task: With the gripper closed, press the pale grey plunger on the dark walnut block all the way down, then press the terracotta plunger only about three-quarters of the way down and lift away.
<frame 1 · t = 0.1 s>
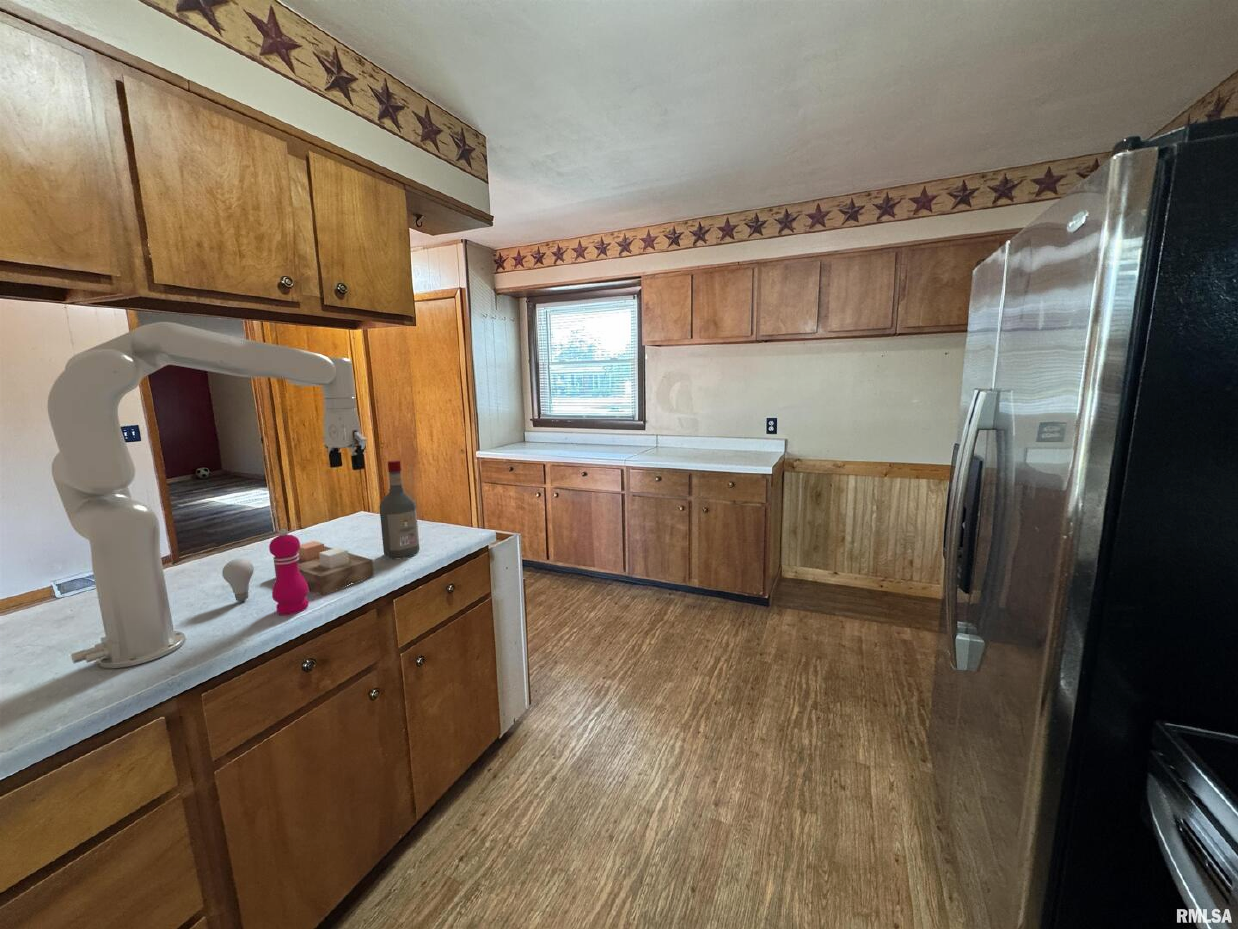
hand: (347, 468, 131), 31 cm above the countertop, tool pointing down, fingers open, 9 cm apart
pepper mill: (293, 610, 116), on the countertop
terracotta plunger: (311, 553, 138), point 6 cm above the countertop, slide at 0.0 cm
grey plunger: (334, 560, 132), point 6 cm above the countertop, slide at 0.0 cm
liquor: (402, 554, 154), on the countertop
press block: (324, 577, 136), on the countertop
lightbulb: (242, 602, 121), on the countertop
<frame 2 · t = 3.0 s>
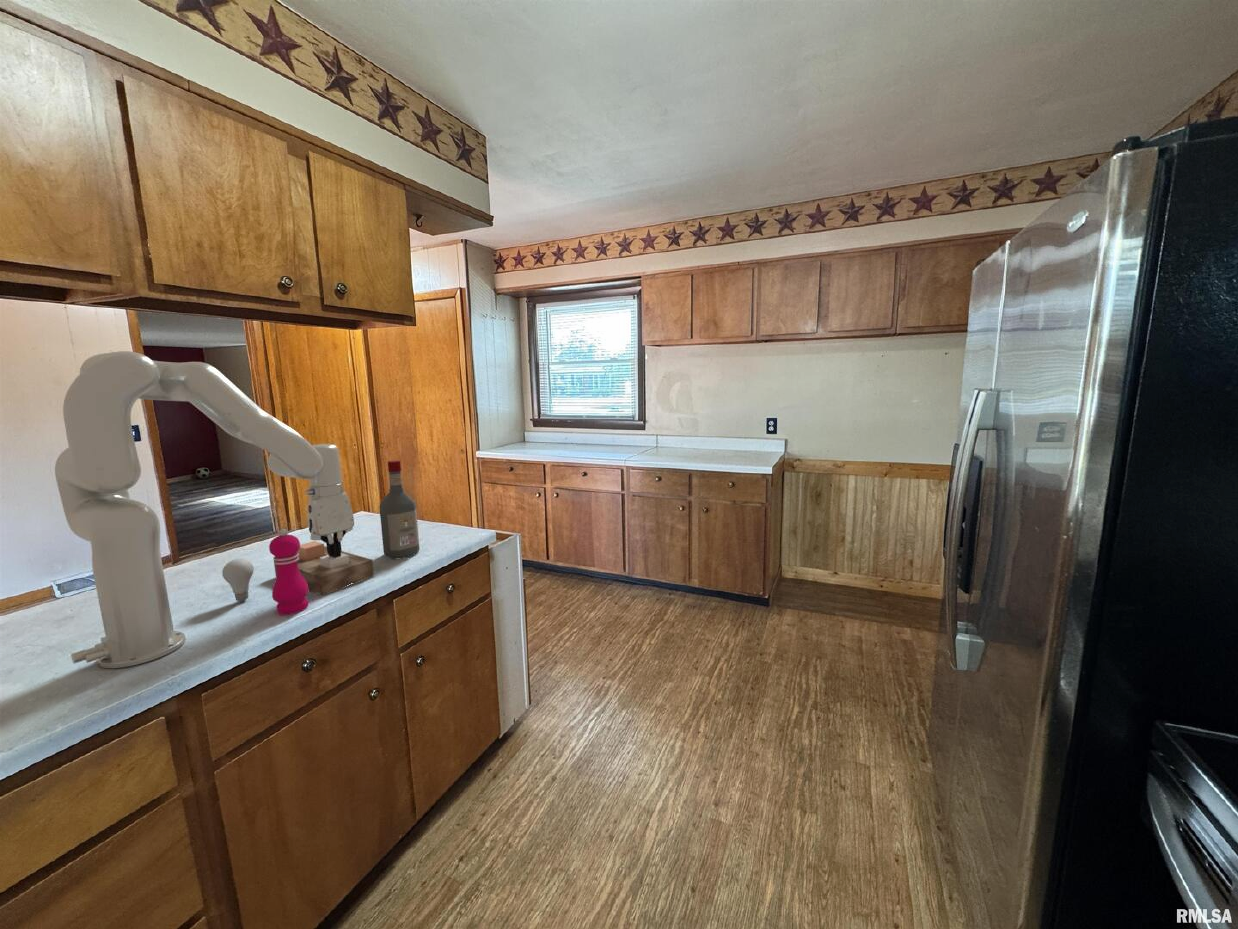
hand: (335, 555, 132), 7 cm above the countertop, tool pointing down, fingers closed
grey plunger: (335, 565, 132), point 5 cm above the countertop, slide at 1.4 cm, touching gripper
everything else where it was.
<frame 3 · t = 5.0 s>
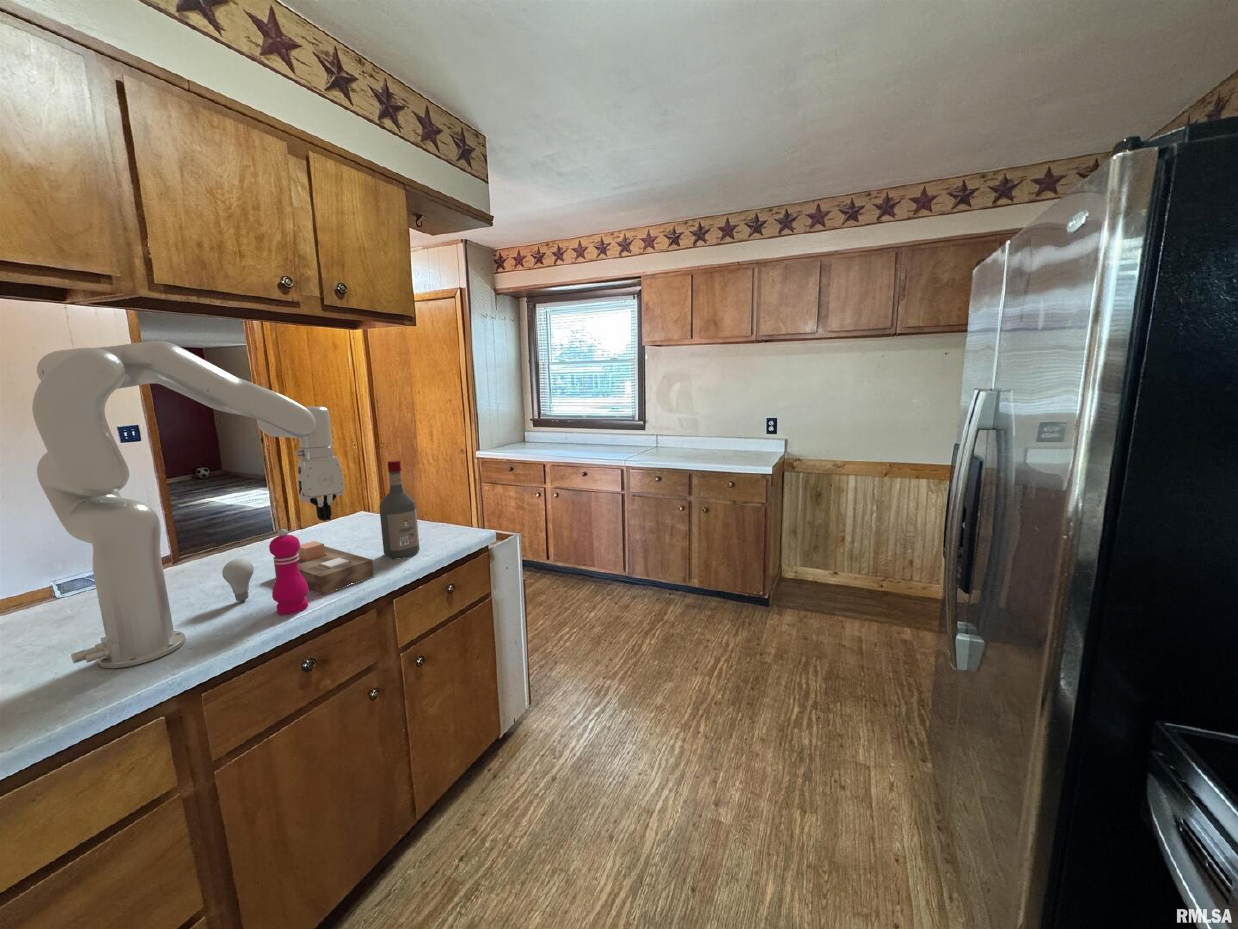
hand: (324, 519, 131), 17 cm above the countertop, tool pointing down, fingers closed
grey plunger: (335, 570, 132), point 3 cm above the countertop, slide at 3.0 cm
everything else where it was.
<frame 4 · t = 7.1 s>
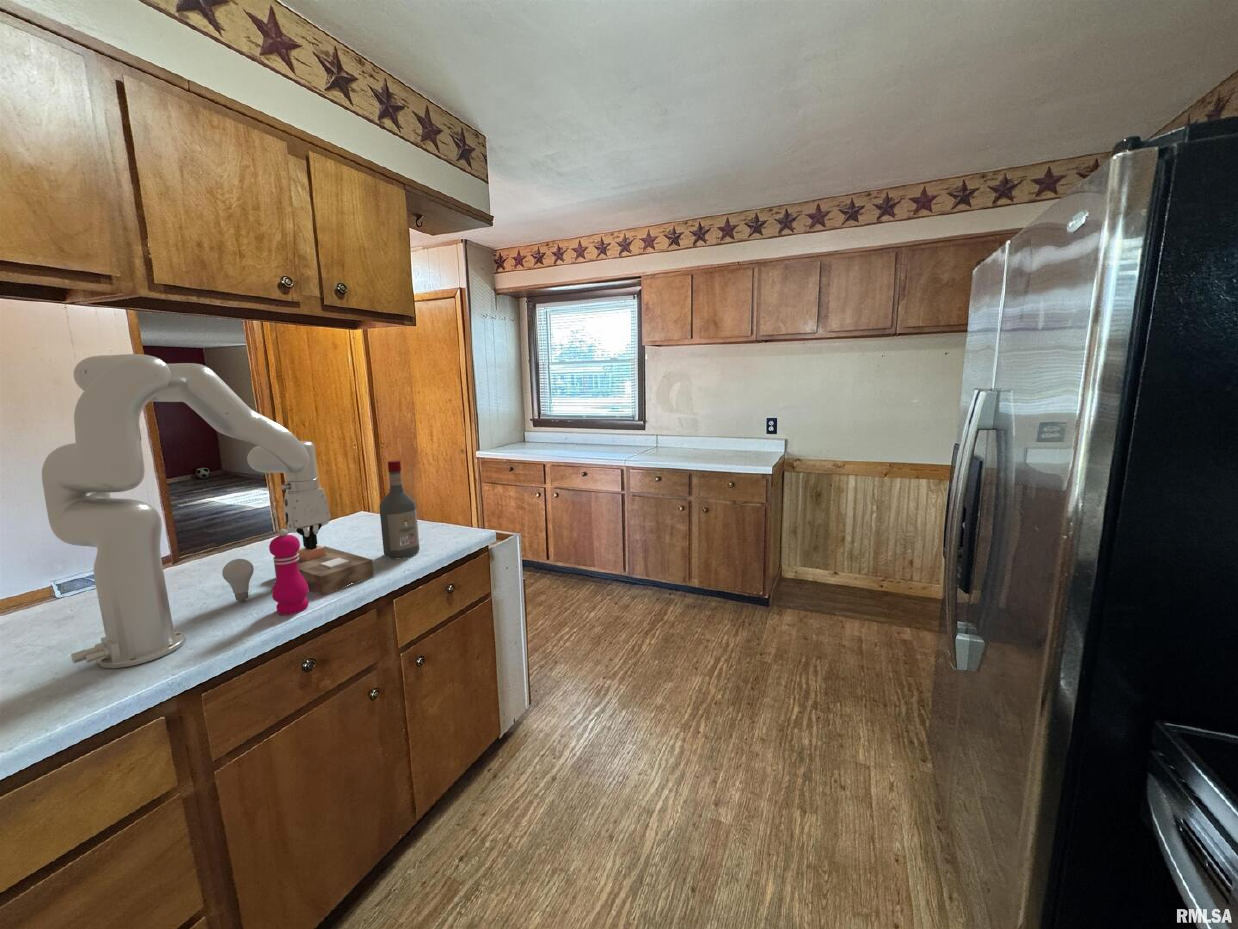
hand: (311, 548, 138), 7 cm above the countertop, tool pointing down, fingers closed
terracotta plunger: (311, 556, 138), point 5 cm above the countertop, slide at 1.1 cm, touching gripper
everything else where it was.
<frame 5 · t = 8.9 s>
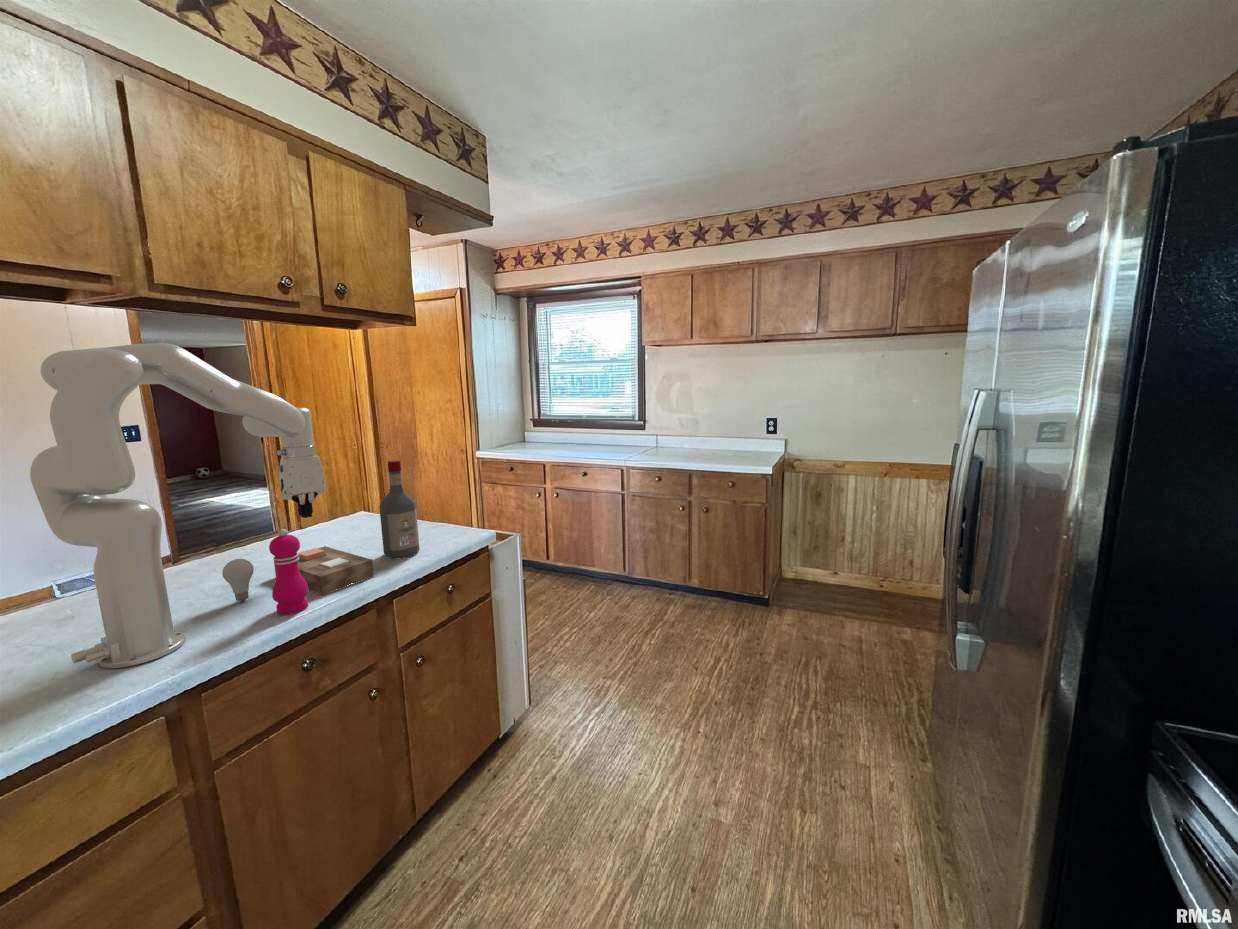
hand: (306, 516, 136), 17 cm above the countertop, tool pointing down, fingers closed
terracotta plunger: (311, 560, 138), point 4 cm above the countertop, slide at 2.1 cm
everything else where it was.
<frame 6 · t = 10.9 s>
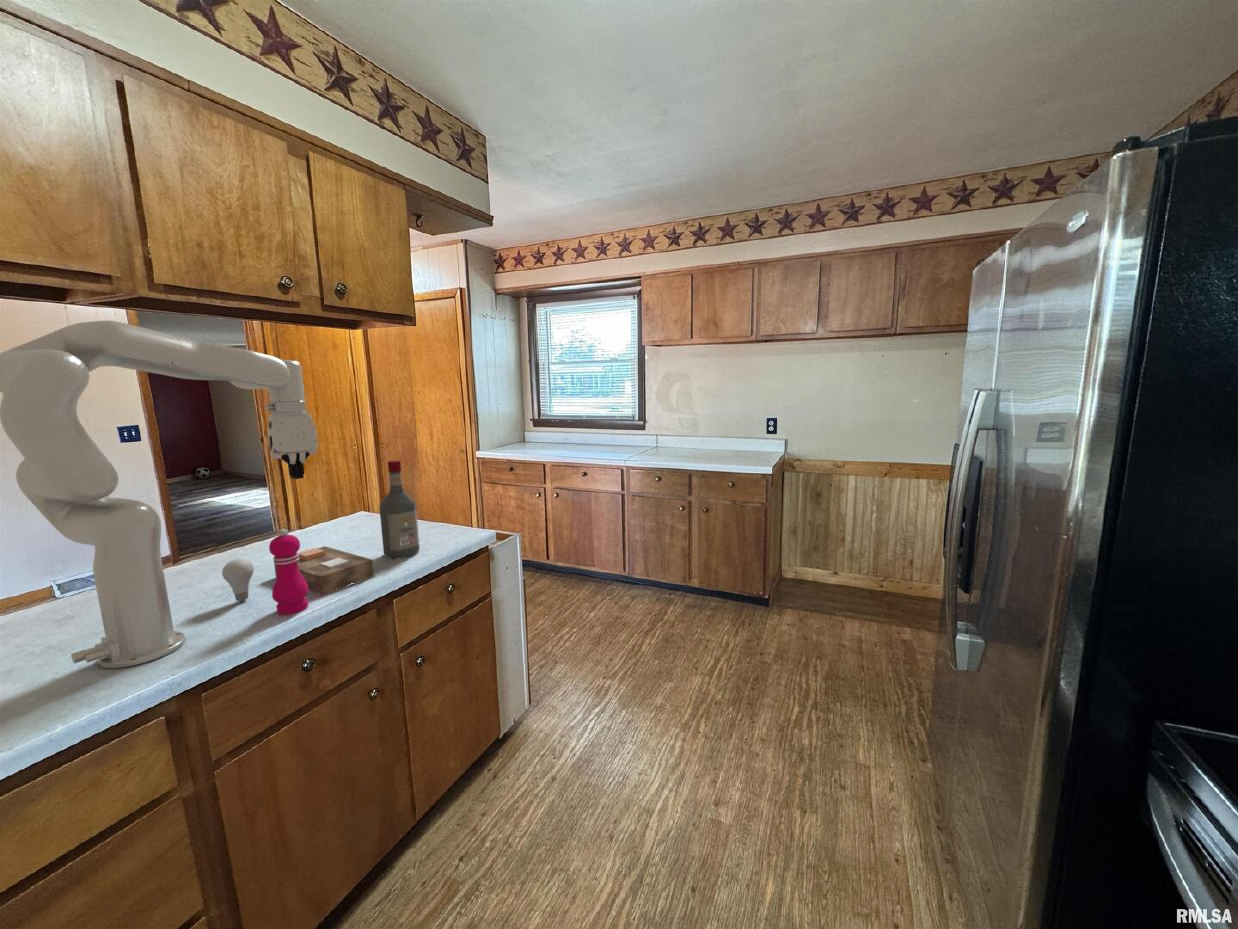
hand: (297, 478, 128), 29 cm above the countertop, tool pointing down, fingers closed
nothing on the countertop moved.
at the end: grey plunger slide at 3.0 cm; terracotta plunger slide at 2.1 cm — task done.
